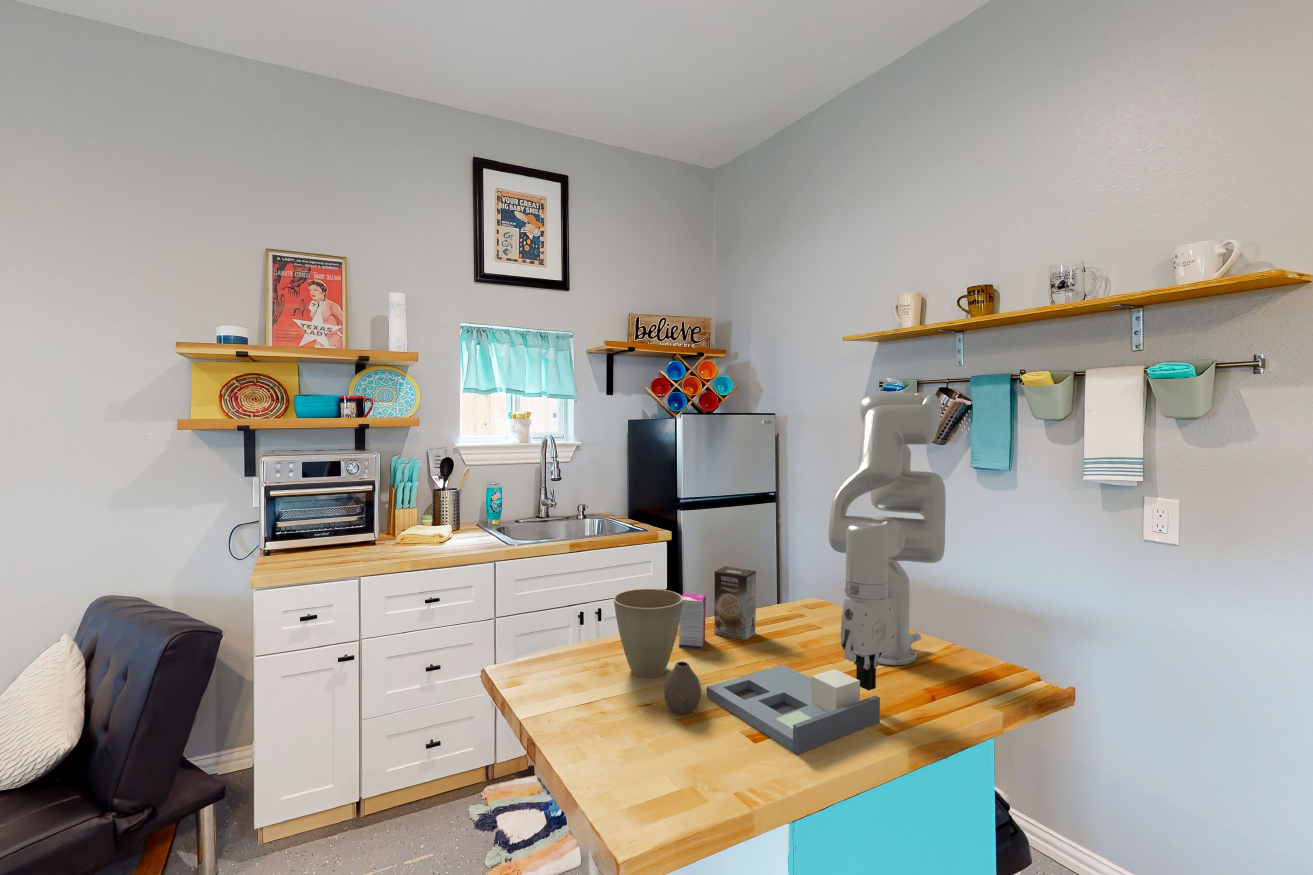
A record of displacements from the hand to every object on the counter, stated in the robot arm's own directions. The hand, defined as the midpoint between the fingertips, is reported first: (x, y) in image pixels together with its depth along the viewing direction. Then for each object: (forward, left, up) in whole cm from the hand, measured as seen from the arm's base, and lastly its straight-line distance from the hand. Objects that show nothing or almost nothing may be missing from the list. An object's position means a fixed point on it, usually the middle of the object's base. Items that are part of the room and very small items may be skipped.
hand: (866, 686), depth 119 cm
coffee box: (-4, -45, -4) cm, 45 cm away
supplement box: (+9, -45, -4) cm, 46 cm away
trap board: (+13, -8, -4) cm, 15 cm away
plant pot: (+26, -37, -4) cm, 45 cm away
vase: (+30, -18, -4) cm, 35 cm away
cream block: (+7, -1, -2) cm, 8 cm away
